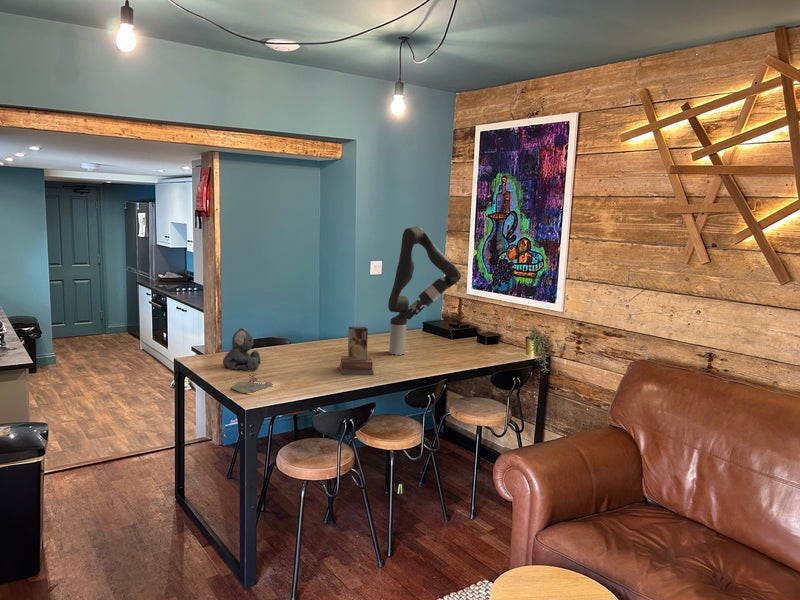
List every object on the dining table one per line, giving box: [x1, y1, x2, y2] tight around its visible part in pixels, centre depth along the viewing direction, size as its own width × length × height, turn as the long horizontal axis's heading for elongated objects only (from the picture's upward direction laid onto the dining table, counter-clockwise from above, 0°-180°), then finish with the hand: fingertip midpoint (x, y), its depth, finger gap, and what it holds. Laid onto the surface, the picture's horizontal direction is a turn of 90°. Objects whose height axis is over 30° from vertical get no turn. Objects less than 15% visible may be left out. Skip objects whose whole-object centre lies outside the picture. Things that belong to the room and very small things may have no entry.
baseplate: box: [339, 362, 374, 376], centre depth 301 cm, size 14×16×2 cm
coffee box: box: [347, 326, 368, 360], centre depth 300 cm, size 9×6×16 cm
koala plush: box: [222, 326, 261, 371], centre depth 297 cm, size 17×18×20 cm
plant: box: [230, 370, 273, 394], centre depth 266 cm, size 25×21×9 cm
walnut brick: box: [340, 355, 374, 370], centre depth 301 cm, size 12×15×4 cm
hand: (406, 316), depth 307 cm, fingers open, 8 cm apart
